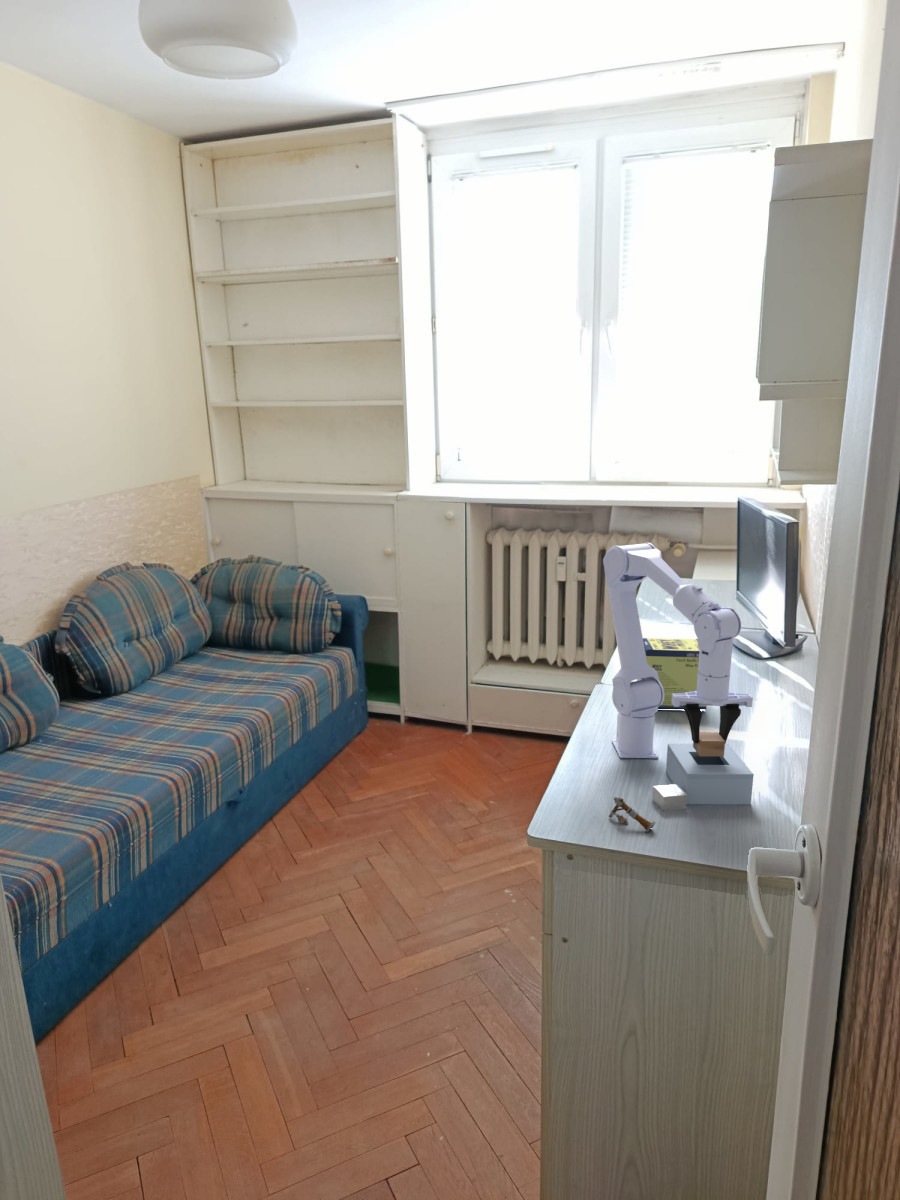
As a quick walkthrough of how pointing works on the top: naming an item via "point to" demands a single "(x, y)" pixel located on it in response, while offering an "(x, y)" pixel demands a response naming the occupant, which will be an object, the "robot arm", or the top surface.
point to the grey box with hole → (709, 776)
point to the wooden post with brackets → (632, 813)
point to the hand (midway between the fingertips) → (708, 741)
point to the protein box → (674, 666)
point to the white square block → (669, 797)
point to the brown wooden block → (710, 744)
